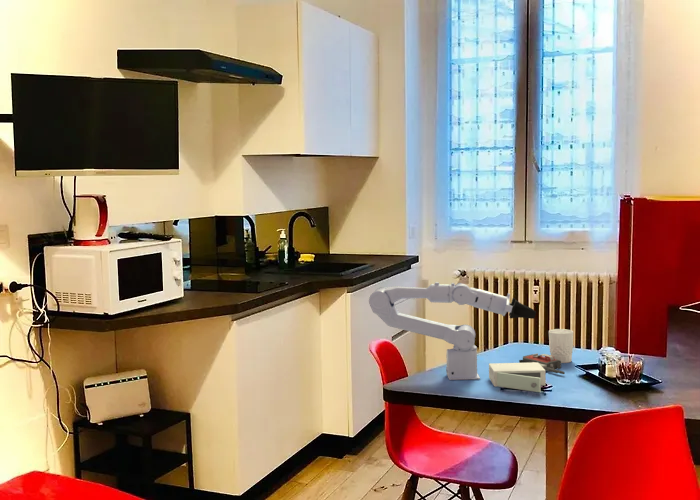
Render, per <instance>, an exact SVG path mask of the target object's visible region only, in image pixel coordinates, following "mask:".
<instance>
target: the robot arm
mask: <svg viewBox="0 0 700 500" xmlns="http://www.w3.org/2000/svg"><path fill="white" fill-rule="evenodd" d="M368 297H369V298H368V303H369V304H368V305H369V307H370V308H371V311H372V313H373V314H375V315H376V316H378V318H379V319H381V321H382V322H383V323H385V324H386V326H389V327H391V328H394V329H399V330H403V331H407V332H411V333H414V334H418V335H423V336H426V337H427V336H428V337H430V338H435V339H438V340H443V341H445V342H446V343H448V344H451V345H453V346H452V348H448V349H446V368H445V370H446V371H445V374H446V375H447V378H448V380H449V381H453V380H455V381H457V380H460V381H461V380H462V381H463V380H481V377H480V375H479V374H478V347H477V346H476V345H475V341H476V339H475V338H476V331H475V329H474V327H473V326H471V325H470V324H460V325H458V324H446V323H443V322H440V321H435V320H430V319H426V318H422V317H419V316H414V315H411V314H407V313H403V312H400V311H399V310H398V308H397V307H396V304H395V303H397V302H398V301H399V300H401V299H403V300H404V299H427V300H428V301H429V302H430V303H435V304H436V303H439V304H440V303H445V304H447V303H448V304H451V303H453V302H454V303H456V304H458V305H459V306H464V305H468V306H471V307H473V308H477V309H480V310H484V311H487V312H489V313H490V312H491V313H495V314H498V315H501V316H502V317H505V316H506V314H507V313H509V314H508V316H509V319H516V318H517V319H518V318H523V319H530V320H531V319H533V320H534V319H535V318H536V314H537V311H535V309H533V308H532V307H529V306H527V305H525V304H523V303H521V302H520V301H518V300H517V299H516V298H515V297H512V300H511V302H510V299H511V293H508V292H507V295H506V296H504V295H503V294H498V293H494V292H492V291H488V290H484V289H480V288H476V287H471V286H470V287H469V285H467V284H465V283H462V282H458V283H457V284H455V282H451V284H448V283H447V284H446V283H443V284H441V283H440V282H439V281H435V282H434V283H431V284H430V285H429V286H428V287H414V286H396V285H395V286H386V287H385V286H383V287H379V288H377V289H375V291H373V292H372V293H371V294H370V296H368Z"/></svg>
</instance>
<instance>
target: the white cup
mask: <svg viewBox="0 0 700 500" xmlns="http://www.w3.org/2000/svg"><path fill="white" fill-rule="evenodd" d="M548 340H549V341H548V343H549V345H548V346H549V352H550V353H549V354H550V355H552V356H554V358H555V359H556V360H560V361H561V364H568V363H569V364H570V363H571V362H572V361H573V357H572V356H573V346H574V330H572V329H565V328H554V329H550V330H548Z"/></svg>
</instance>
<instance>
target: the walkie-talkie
mask: <svg viewBox="0 0 700 500" xmlns="http://www.w3.org/2000/svg"><path fill="white" fill-rule="evenodd" d="M518 361H519V362H518V363H533V362H538V363H539V364H540V365H541V366H542V367H543V368H544V369H545V372H550V373H555V374H561V375H565V371H563V370H560V369H561V368H562V363H561V361H560V360H556V359H555V358H554V356H552V355H551V354H547V353H542V354H539V353H538V352H537V353H532V354H527V355H523V356H522V359H519V360H518Z"/></svg>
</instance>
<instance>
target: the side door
mask: <svg viewBox="0 0 700 500" xmlns="http://www.w3.org/2000/svg"><path fill="white" fill-rule="evenodd" d="M541 386H542V385H541V378H538V377H531V376H523V375H516V374H508V373H500V372H498V373H497V386H496V387H500V388H507V389H514V390H522V391H527V392H534V393H535V392H536V393H541V392H542V391H541V388H542V387H541Z"/></svg>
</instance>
